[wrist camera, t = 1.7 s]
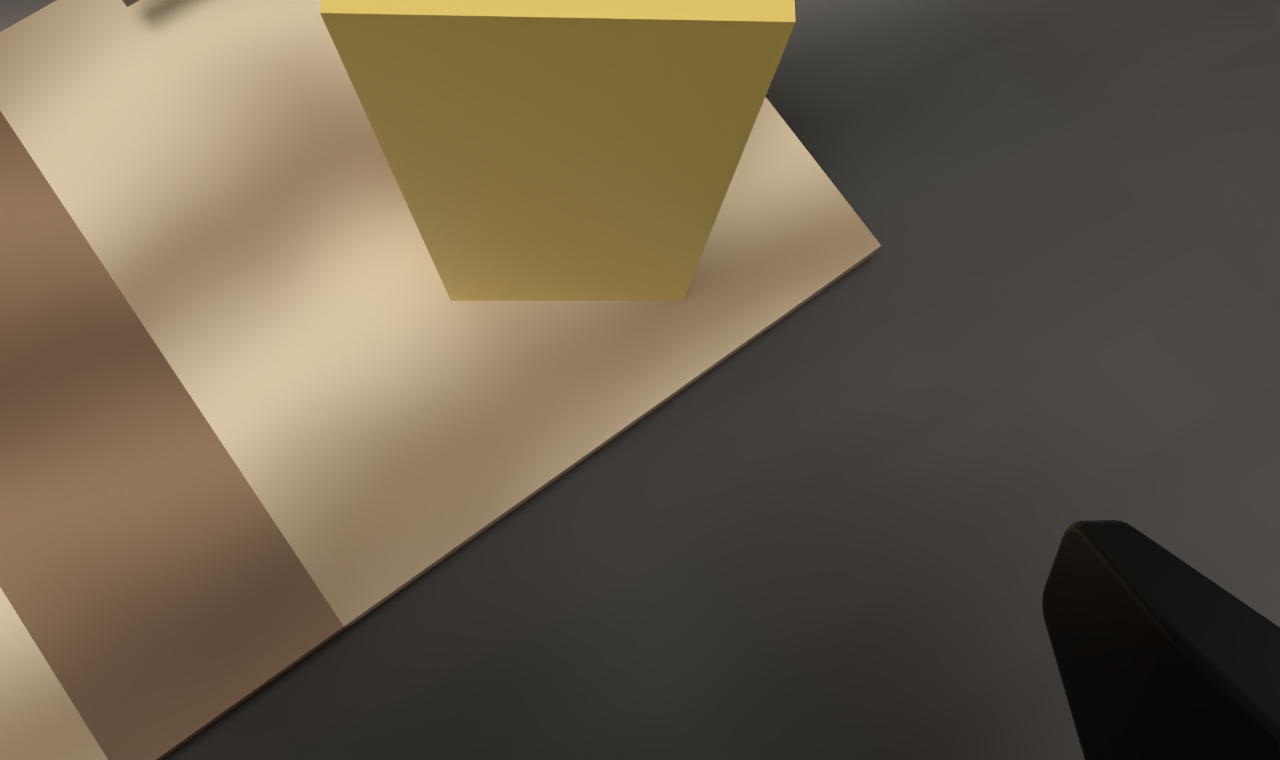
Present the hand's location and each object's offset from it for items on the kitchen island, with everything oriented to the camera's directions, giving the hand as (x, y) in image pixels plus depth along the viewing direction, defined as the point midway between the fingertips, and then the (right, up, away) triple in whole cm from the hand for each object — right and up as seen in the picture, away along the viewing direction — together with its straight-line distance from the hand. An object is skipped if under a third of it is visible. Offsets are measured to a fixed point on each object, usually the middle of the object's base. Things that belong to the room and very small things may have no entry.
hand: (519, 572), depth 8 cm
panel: (-7, +4, +14) cm, 17 cm away
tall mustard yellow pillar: (-1, +6, +14) cm, 15 cm away
